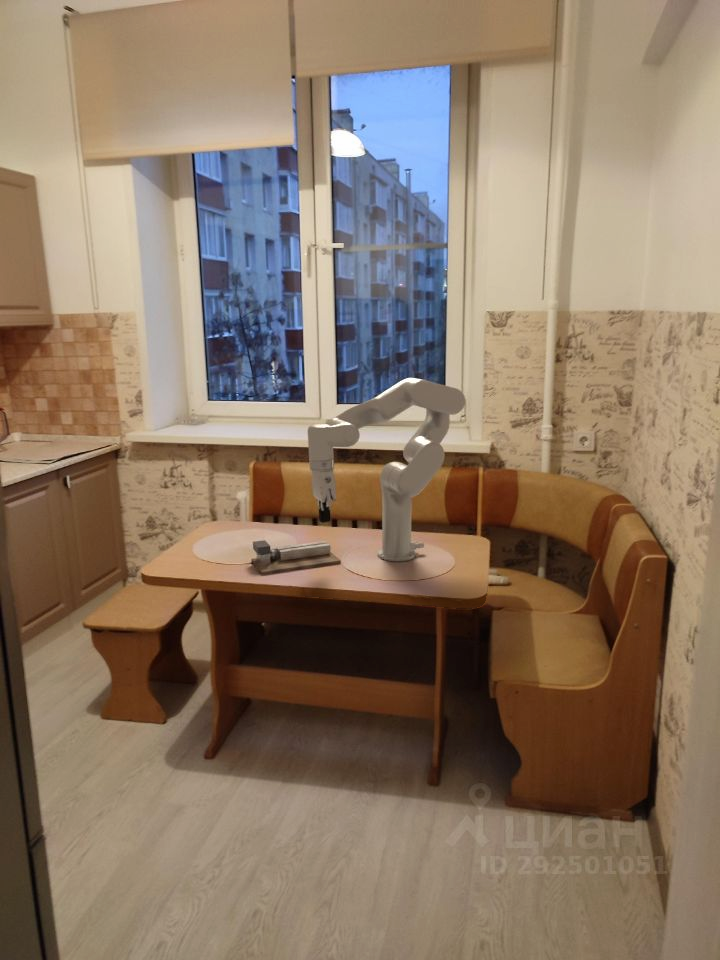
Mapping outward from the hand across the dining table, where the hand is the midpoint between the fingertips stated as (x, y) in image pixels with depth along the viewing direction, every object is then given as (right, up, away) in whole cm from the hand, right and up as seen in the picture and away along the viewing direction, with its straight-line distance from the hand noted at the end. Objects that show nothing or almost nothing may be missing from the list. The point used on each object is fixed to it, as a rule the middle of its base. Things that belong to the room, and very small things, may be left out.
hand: (324, 521), depth 210 cm
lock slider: (-20, -10, +3) cm, 23 cm away
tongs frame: (-10, -12, +8) cm, 18 cm away
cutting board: (-10, -14, +6) cm, 18 cm away
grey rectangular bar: (-9, -12, +8) cm, 17 cm away
